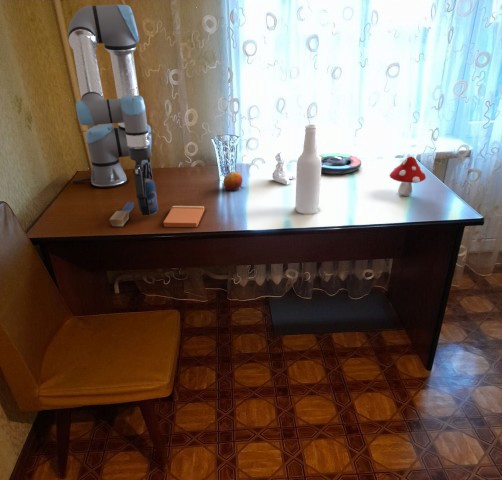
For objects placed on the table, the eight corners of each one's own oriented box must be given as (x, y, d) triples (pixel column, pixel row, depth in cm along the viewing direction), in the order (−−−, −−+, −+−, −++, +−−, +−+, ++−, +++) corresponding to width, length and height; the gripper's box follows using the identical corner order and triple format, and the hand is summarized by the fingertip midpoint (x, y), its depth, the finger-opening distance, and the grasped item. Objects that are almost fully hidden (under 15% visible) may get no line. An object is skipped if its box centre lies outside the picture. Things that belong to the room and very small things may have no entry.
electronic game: (300, 167, 224) (300, 156, 221) (335, 157, 235) (336, 147, 232) (335, 179, 209) (336, 168, 206) (371, 168, 220) (372, 158, 217)
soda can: (146, 217, 173) (141, 184, 166) (136, 212, 178) (130, 179, 171) (162, 212, 177) (158, 179, 170) (152, 207, 181) (147, 175, 174)
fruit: (244, 189, 197) (234, 172, 194) (229, 198, 200) (218, 181, 197) (248, 182, 203) (238, 166, 200) (233, 191, 207) (223, 175, 203)
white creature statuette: (288, 185, 204) (289, 156, 197) (269, 183, 206) (269, 154, 199) (294, 178, 211) (295, 150, 204) (275, 176, 214) (275, 148, 207)
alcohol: (294, 205, 185) (297, 122, 167) (317, 205, 185) (322, 122, 167) (295, 214, 178) (298, 129, 160) (319, 214, 178) (325, 128, 160)
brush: (110, 226, 173) (109, 219, 171) (126, 207, 187) (124, 200, 185) (123, 226, 172) (121, 219, 170) (137, 208, 187) (136, 201, 185)
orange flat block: (163, 226, 172) (163, 221, 171) (173, 209, 184) (173, 204, 183) (196, 227, 171) (196, 222, 169) (204, 210, 183) (204, 205, 182)
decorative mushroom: (394, 186, 200) (400, 149, 191) (427, 192, 194) (435, 154, 185) (381, 196, 191) (386, 158, 182) (415, 203, 184) (422, 163, 176)
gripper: (141, 154, 155) (151, 221, 169) (157, 138, 171) (165, 201, 185) (119, 154, 156) (131, 221, 169) (136, 138, 172) (146, 200, 185)
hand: (149, 210), depth 177 cm, fingers closed on soda can, 7 cm apart
